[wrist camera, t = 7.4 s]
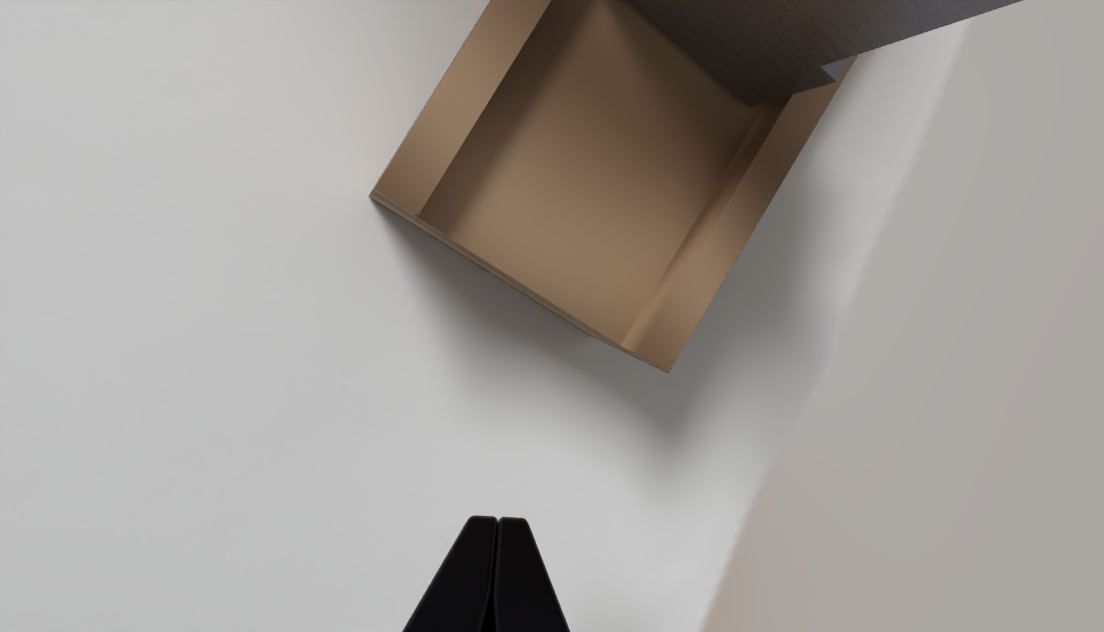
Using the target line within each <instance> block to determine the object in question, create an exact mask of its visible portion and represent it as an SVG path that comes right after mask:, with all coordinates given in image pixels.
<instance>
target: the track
mask: <svg viewBox="0 0 1104 632" xmlns="http://www.w3.org/2000/svg"><path fill="white" fill-rule="evenodd" d="M857 56H858V54H857V55H854V56H852V57H851V59H850V60H849V62H848V64H847V65H846V67H845V69H844V70H843V72H842V74H841V75H840V77H839V79H838V80H837V82H835V83H831V84H828V85H824V86H821V87H817V88H814V89H810V90H807V91H803V92H800V93H796V94H793V95H789V96H786V97H782V98H779V99H775V100H772V101H768V102H765V103H761V104H758V105H754V106H751V107H748V106H747V105H746V104H744V103H743V102H742V101H741V100H740V99H739V98H738V97H736V96H735V95H734V94H733V93H732V92H731V91H730V90H729V89H727V88H726V87H725V86H724V85H723V84H722V83H721V82H719V81H718V80H717V79H716V78H715V77H714V76H713V75H711V74H710V73H709V72H708V71H707V70H706V69H705V68H704V67H702V66H701V65H700V64H699V63H698V62H697V61H696V60H694V59H693V58H692V57H691V56H690V55H689V54H688V53H687V52H685V51H684V50H683V49H682V48H681V47H680V46H679V45H677V44H676V43H675V42H674V41H673V40H672V39H671V38H670V37H668V36H667V35H666V34H665V33H664V32H663V31H662V30H660V29H659V28H658V27H657V26H656V25H655V24H654V23H652V22H651V21H650V20H649V19H648V18H647V17H646V16H645V15H643V14H642V13H641V12H640V11H639V10H638V9H637V8H635V7H634V6H633V5H632V4H631V3H630V2H629V1H628V0H491V1H490V2H489V4H488V5H487V7H486V9H485V10H484V12H483V13H482V15H481V17H480V18H479V20H478V21H477V23H476V25H475V26H474V28H473V30H472V31H471V33H470V34H469V36H468V38H467V39H466V41H465V42H464V44H463V46H462V47H461V49H460V50H459V52H458V54H457V55H456V57H455V58H454V60H453V62H452V63H451V65H450V66H449V68H448V70H447V71H446V73H445V74H444V76H443V78H442V79H441V81H440V82H439V84H438V86H437V87H436V89H435V90H434V92H433V94H432V95H431V97H430V99H429V100H428V102H427V103H426V105H425V107H424V108H423V110H422V111H421V113H420V115H419V116H418V118H417V119H416V121H415V123H414V124H413V126H412V127H411V129H410V131H409V132H408V134H407V135H406V137H405V139H404V140H403V142H402V143H401V145H400V147H399V148H398V150H397V151H396V153H395V155H394V156H393V158H392V159H391V161H390V163H389V164H388V166H387V168H386V169H385V171H384V172H383V174H382V176H381V177H380V179H379V180H378V182H377V184H376V185H375V187H374V188H373V190H372V192H371V193H370V195H369V197H370V198H372V199H373V200H375V201H377V202H378V203H380V204H381V205H383V206H385V207H386V208H388V209H389V210H391V211H393V212H394V213H396V214H397V215H399V216H401V217H402V218H404V219H405V220H407V221H409V222H410V223H412V224H413V225H415V226H417V227H418V228H420V229H421V230H423V231H425V232H426V233H428V234H429V235H431V236H433V237H434V238H436V239H437V240H439V241H441V242H442V243H444V244H445V245H447V246H449V247H450V248H452V249H453V250H455V251H456V252H458V253H460V254H461V255H463V256H464V257H466V258H468V259H469V260H471V261H472V262H474V263H476V264H477V265H479V266H480V267H482V268H484V269H485V270H487V271H488V272H490V273H492V274H493V275H495V276H496V277H498V278H500V279H501V280H503V281H504V282H506V283H508V284H509V285H511V286H512V287H514V288H516V289H517V290H519V291H520V292H522V293H524V294H525V295H527V296H528V297H530V298H531V299H533V300H535V301H536V302H538V303H539V304H541V305H543V306H544V307H546V308H547V309H549V310H551V311H552V312H554V313H555V314H557V315H559V316H560V317H562V318H563V319H565V320H567V321H568V322H570V323H571V324H573V325H575V326H576V327H578V328H579V329H581V330H583V331H584V332H586V333H587V334H589V335H591V336H592V337H594V338H596V339H598V340H600V341H602V342H604V343H606V344H608V345H611V346H613V347H615V348H617V349H619V350H621V351H623V352H625V353H627V354H629V355H631V356H633V357H635V358H638V359H640V360H642V361H644V362H646V363H648V364H650V365H652V366H654V367H656V368H658V369H660V370H662V371H664V372H667V373H669V371H670V370H671V368H672V366H673V365H674V363H675V361H676V360H677V358H678V356H679V355H680V353H681V351H682V349H683V348H684V346H685V344H686V343H687V341H688V339H689V338H690V336H691V334H692V333H693V331H694V329H695V328H696V326H697V324H698V323H699V321H700V319H701V318H702V316H703V314H704V313H705V311H706V309H707V307H708V306H709V304H710V302H711V301H712V299H713V297H714V296H715V294H716V292H717V291H718V289H719V287H720V286H721V284H722V282H723V281H724V279H725V277H726V276H727V274H728V272H729V271H730V269H731V267H732V266H733V264H734V262H735V260H736V259H737V257H738V255H739V254H740V252H741V250H742V249H743V247H744V245H745V244H746V242H747V240H748V239H749V237H750V235H751V234H752V232H753V230H754V229H755V227H756V225H757V224H758V222H759V220H760V218H761V217H762V215H763V213H764V212H765V210H766V208H767V207H768V205H769V203H770V202H771V200H772V198H773V197H774V195H775V193H776V192H777V190H778V188H779V187H780V185H781V183H782V182H783V180H784V178H785V177H786V175H787V173H788V171H789V170H790V168H791V166H792V165H793V163H794V161H795V160H796V158H797V156H798V155H799V153H800V151H801V150H802V148H803V146H804V145H805V143H806V141H807V140H808V138H809V136H810V135H811V133H812V131H813V129H814V128H815V126H816V124H817V123H818V121H819V119H820V118H821V116H822V114H823V113H824V111H825V109H826V108H827V106H828V104H829V103H830V101H831V99H832V98H833V96H834V94H835V93H836V91H837V89H838V88H839V86H840V84H841V82H842V81H843V79H844V77H845V76H846V74H847V72H848V71H849V69H850V67H851V66H852V64H853V62H854V61H855V59H856V57H857Z"/></svg>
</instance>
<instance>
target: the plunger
mask: <svg viewBox="0 0 1104 632" xmlns="http://www.w3.org/2000/svg"><path fill="white" fill-rule="evenodd" d="M628 1H629V2H630V3H631V4H632V5H633V6H634V7H635V8H637V9H638V10H639V11H640V12H641V13H642V14H643V15H645V16H646V17H647V18H648V19H649V20H650V21H651V22H652V23H654V24H655V25H656V26H657V27H658V28H659V29H660V30H662V31H663V32H664V33H665V34H666V35H667V36H668V37H670V38H671V39H672V40H673V41H674V42H675V43H676V44H677V45H679V46H680V47H681V48H682V49H683V50H684V51H685V52H687V53H688V54H689V55H690V56H691V57H692V58H693V59H694V60H696V61H697V62H698V63H699V64H700V65H701V66H702V67H704V68H705V69H706V70H707V71H708V72H709V73H710V74H711V75H713V76H714V77H715V78H716V79H717V80H718V81H719V82H721V83H722V84H723V85H724V86H725V87H726V88H727V89H729V90H730V91H731V92H732V93H733V94H734V95H735V96H736V97H738V98H739V99H740V100H741V101H742V102H743V103H744V104H746V105H747V106H748V107H751V106H754V105H758V104H761V103H765V102H768V101H772V100H775V99H779V98H782V97H786V96H789V95H793V94H796V93H800V92H803V91H807V90H810V89H814V88H817V87H821V86H824V85H828V84H831V83H835V82H837V80H838V79H839V77H840V75H841V74H842V72H843V70H844V69H845V67H846V65H847V64H848V62H849V60H850V59H851V57H852V56H854V55H857V54H861V53H864V52H867V51H870V50H873V49H876V48H879V47H882V46H885V45H888V44H891V43H894V42H897V41H900V40H903V39H906V38H909V37H912V36H915V35H919V34H922V33H925V32H928V31H931V30H934V29H937V28H940V27H943V26H946V25H949V24H952V23H955V22H958V21H961V20H964V19H967V18H970V17H973V16H977V15H980V14H983V13H985V12H989V11H992V10H995V9H998V8H1001V7H1004V6H1007V5H1010V4H1013V3H1016V2H1019V1H1022V0H628Z"/></svg>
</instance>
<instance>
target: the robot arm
mask: <svg viewBox="0 0 1104 632" xmlns="http://www.w3.org/2000/svg"><path fill="white" fill-rule="evenodd" d="M402 632H570V630H569V627H568V625H567V622H566V619H565V617H564V614H563V612H562V609H561V606H560V604H559V601H558V599H557V596H556V593H555V591H554V588H553V586H552V583H551V581H550V578H549V575H548V573H547V570H546V568H545V565H544V562H543V560H542V557H541V555H540V552H539V550H538V547H537V544H536V542H535V539H534V537H533V534H532V531H531V529H530V526H529V524H528V522H527V521H526V519H524V518H515V517H502V518H500V519H499V521H498V520H497V518H496V517H493V516H476V515H475V516H471V517H470V518H469V519H468V520H467V522H466V524H465V525H464V527H463V529H462V530H461V532H460V534H459V535H458V537H457V539H456V541H455V542H454V544H453V546H452V547H451V549H450V551H449V553H448V554H447V556H446V558H445V559H444V561H443V563H442V564H441V566H440V568H439V570H438V571H437V573H436V575H435V576H434V578H433V580H432V582H431V583H430V585H429V587H428V588H427V590H426V592H425V594H424V595H423V597H422V599H421V600H420V602H419V604H418V605H417V607H416V609H415V611H414V612H413V614H412V616H411V617H410V619H409V621H408V623H407V624H406V626H405V628H404V629H403V631H402Z"/></svg>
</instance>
